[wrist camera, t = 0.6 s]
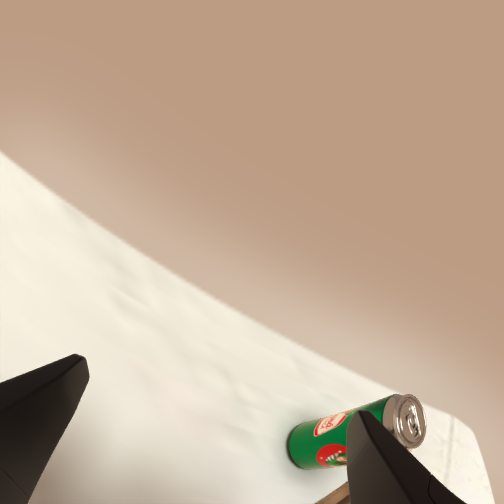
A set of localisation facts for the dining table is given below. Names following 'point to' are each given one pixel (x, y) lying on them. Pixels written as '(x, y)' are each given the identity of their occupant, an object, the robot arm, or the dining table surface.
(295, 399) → the dining table surface
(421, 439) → the soda can
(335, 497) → the socket block
